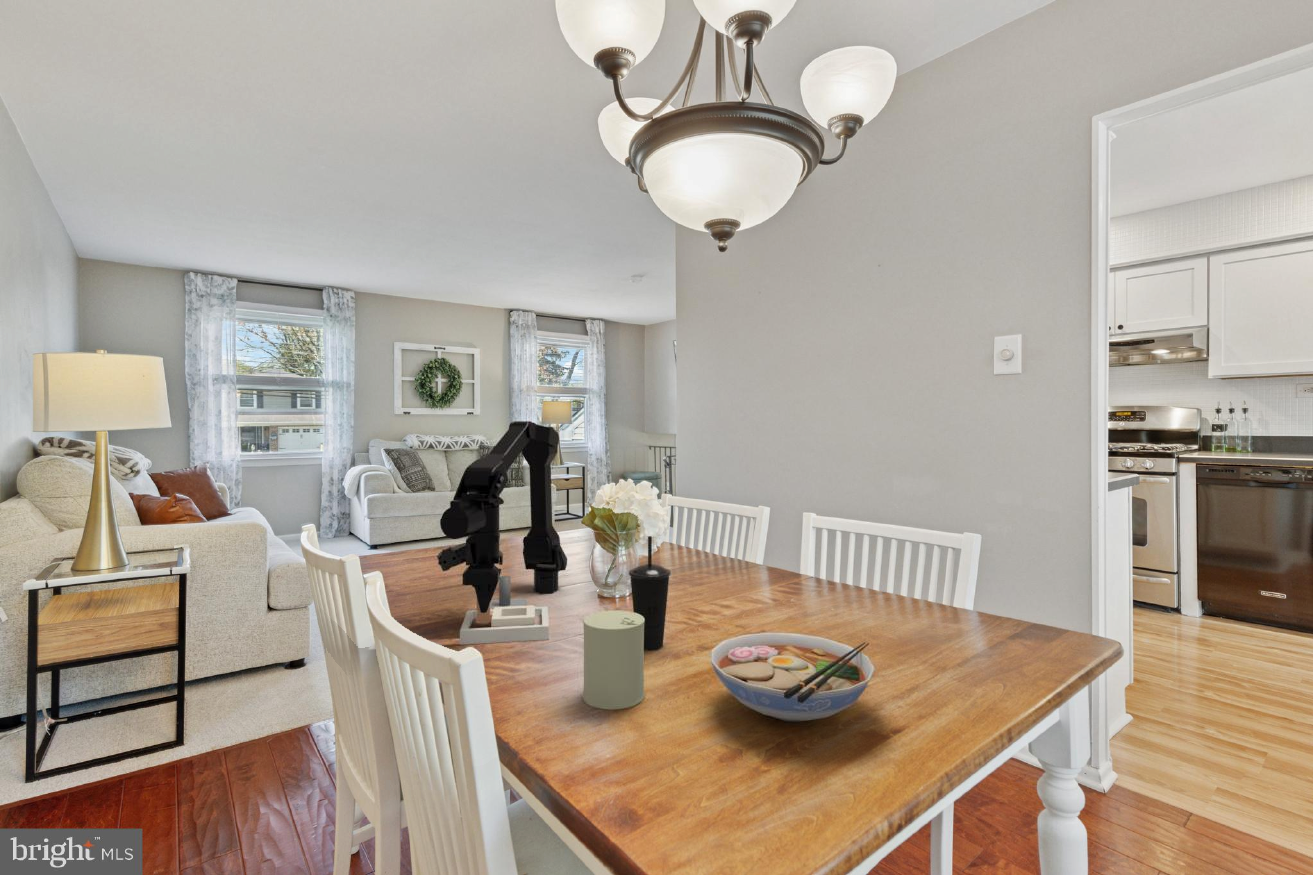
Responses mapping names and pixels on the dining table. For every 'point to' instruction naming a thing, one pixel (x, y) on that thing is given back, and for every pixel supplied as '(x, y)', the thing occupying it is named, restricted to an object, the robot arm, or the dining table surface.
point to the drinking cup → (650, 599)
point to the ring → (507, 615)
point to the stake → (506, 595)
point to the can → (613, 659)
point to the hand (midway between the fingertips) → (484, 610)
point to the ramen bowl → (792, 674)
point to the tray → (504, 630)
